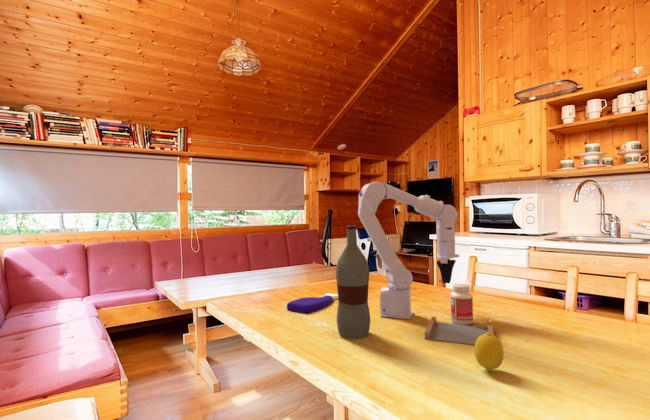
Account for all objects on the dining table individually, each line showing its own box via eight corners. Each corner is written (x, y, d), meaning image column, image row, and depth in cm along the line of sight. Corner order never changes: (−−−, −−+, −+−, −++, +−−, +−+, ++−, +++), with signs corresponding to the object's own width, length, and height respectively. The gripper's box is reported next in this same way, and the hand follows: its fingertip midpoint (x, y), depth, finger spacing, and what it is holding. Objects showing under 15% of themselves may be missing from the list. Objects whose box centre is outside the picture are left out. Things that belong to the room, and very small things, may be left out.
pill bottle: (477, 322, 108) (476, 285, 108) (464, 326, 105) (463, 288, 105) (459, 318, 113) (458, 282, 113) (446, 321, 110) (446, 285, 110)
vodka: (373, 330, 103) (371, 224, 103) (366, 341, 95) (364, 226, 95) (342, 327, 106) (340, 224, 106) (332, 337, 98) (330, 226, 98)
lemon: (470, 366, 78) (469, 329, 78) (494, 364, 79) (493, 327, 79) (483, 377, 73) (482, 337, 73) (509, 376, 73) (508, 336, 73)
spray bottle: (308, 306, 121) (346, 293, 141) (283, 302, 127) (323, 290, 147) (308, 315, 121) (346, 300, 141) (283, 311, 127) (323, 297, 147)
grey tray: (424, 339, 95) (424, 332, 95) (432, 322, 109) (432, 316, 109) (493, 347, 89) (493, 340, 89) (492, 328, 102) (492, 322, 102)
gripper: (457, 243, 111) (458, 287, 111) (460, 239, 124) (460, 279, 124) (433, 242, 114) (434, 286, 114) (438, 239, 127) (439, 278, 127)
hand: (446, 282), depth 119 cm, fingers closed
